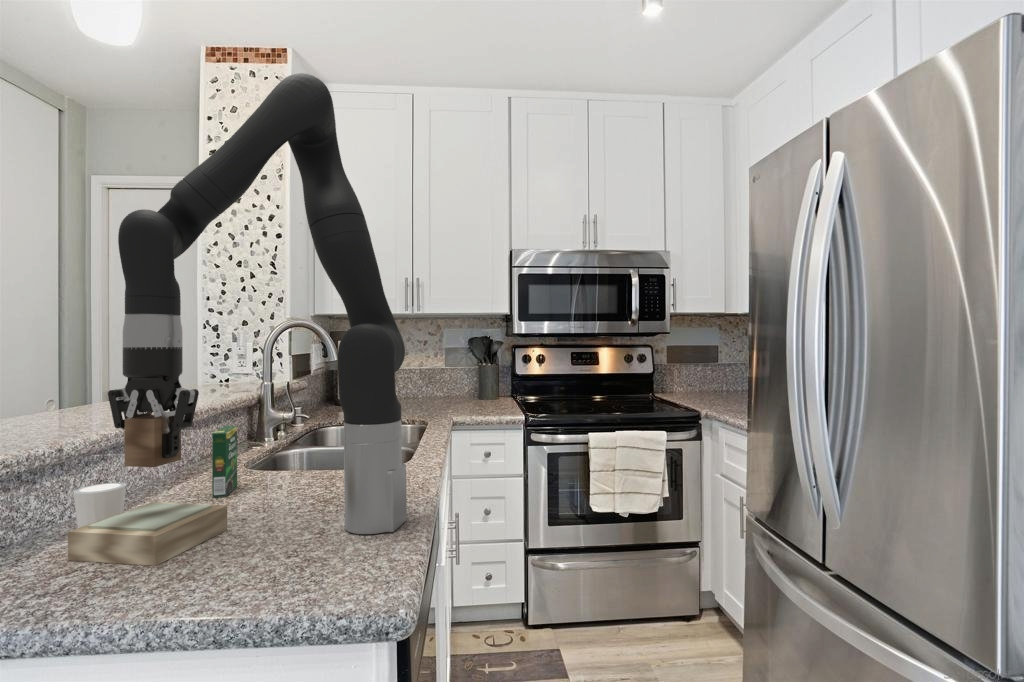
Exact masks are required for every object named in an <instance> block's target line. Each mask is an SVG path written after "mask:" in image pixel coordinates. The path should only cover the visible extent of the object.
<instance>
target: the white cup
mask: <svg viewBox="0 0 1024 682" xmlns="http://www.w3.org/2000/svg"><path fill="white" fill-rule="evenodd" d="M126 489H127V483H124V482H105V483H104V482H103V483H97V484H91V485H87V486H84V487H83V486H82V487H80V488H77V489H75V490H74V491H73V499H74V500H73V502H74V507H75V508H74V509H75V518H76V525H77V528H80V527H83V526H86V525H88V524H91V523H94V522H97V521H100V520H103V519H105V518H108V517H111V516H114V515H117V514H120V513H122V512H124V508H125V498H126V497H125V496H126Z"/></svg>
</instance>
